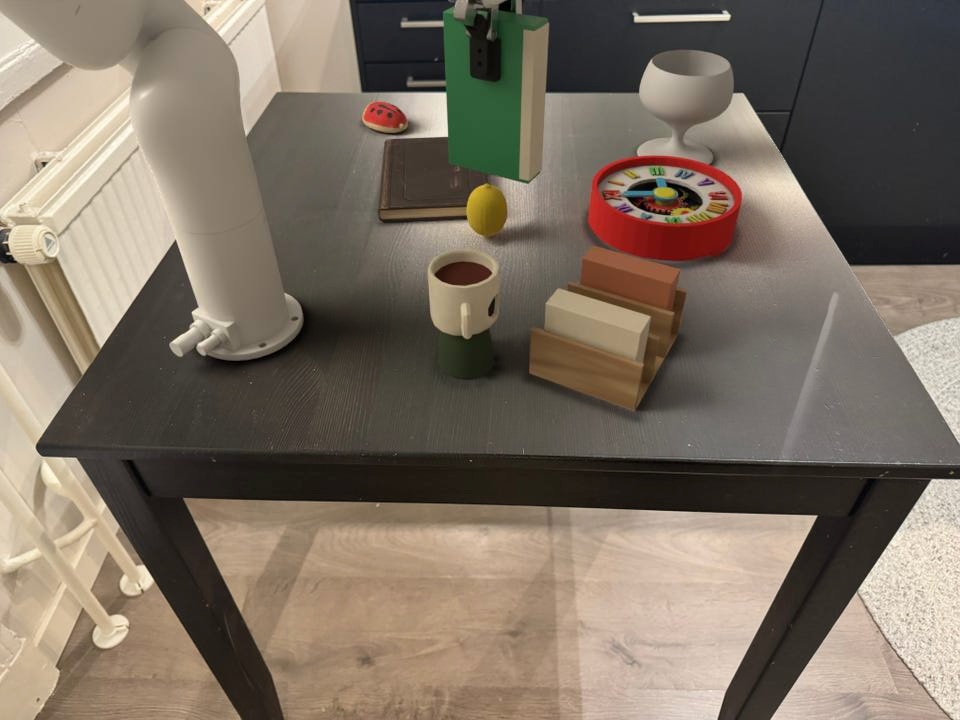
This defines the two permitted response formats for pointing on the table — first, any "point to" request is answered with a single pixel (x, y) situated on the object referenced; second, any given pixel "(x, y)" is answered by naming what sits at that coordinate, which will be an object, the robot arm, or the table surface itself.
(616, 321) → the cream book
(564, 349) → the book rack
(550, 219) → the table surface
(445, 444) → the table surface
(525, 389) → the table surface
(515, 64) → the green book
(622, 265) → the terracotta book
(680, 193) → the toy clock
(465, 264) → the character mug
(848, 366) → the table surface
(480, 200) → the lemon
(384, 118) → the ladybug figurine
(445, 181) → the hardcover book
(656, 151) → the chalice
